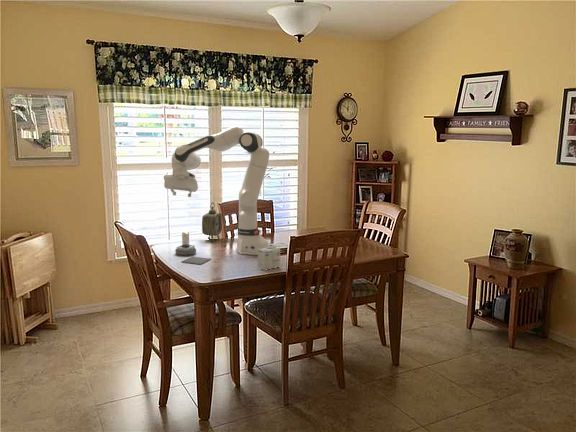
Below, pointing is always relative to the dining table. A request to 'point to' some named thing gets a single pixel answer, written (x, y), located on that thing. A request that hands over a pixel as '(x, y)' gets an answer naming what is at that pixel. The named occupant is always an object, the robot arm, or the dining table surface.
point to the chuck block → (185, 250)
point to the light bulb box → (268, 258)
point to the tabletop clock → (212, 223)
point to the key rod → (185, 239)
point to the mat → (196, 260)
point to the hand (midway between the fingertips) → (182, 195)
